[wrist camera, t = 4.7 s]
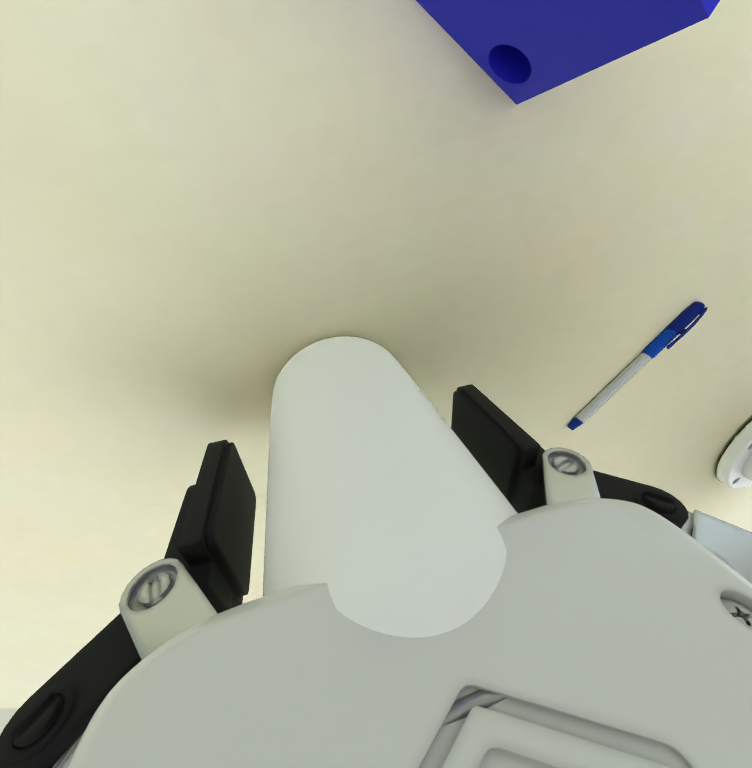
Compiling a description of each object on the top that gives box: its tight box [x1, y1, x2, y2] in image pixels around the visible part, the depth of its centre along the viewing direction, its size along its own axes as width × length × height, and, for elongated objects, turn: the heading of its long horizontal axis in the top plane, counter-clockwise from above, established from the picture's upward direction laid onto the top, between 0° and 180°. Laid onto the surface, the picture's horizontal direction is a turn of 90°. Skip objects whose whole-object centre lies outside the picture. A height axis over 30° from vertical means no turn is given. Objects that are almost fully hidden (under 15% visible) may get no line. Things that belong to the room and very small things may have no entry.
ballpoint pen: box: [568, 302, 707, 430], centre depth 20 cm, size 10×1×1 cm, turn 142°
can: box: [263, 336, 518, 726], centre depth 10 cm, size 6×6×12 cm
